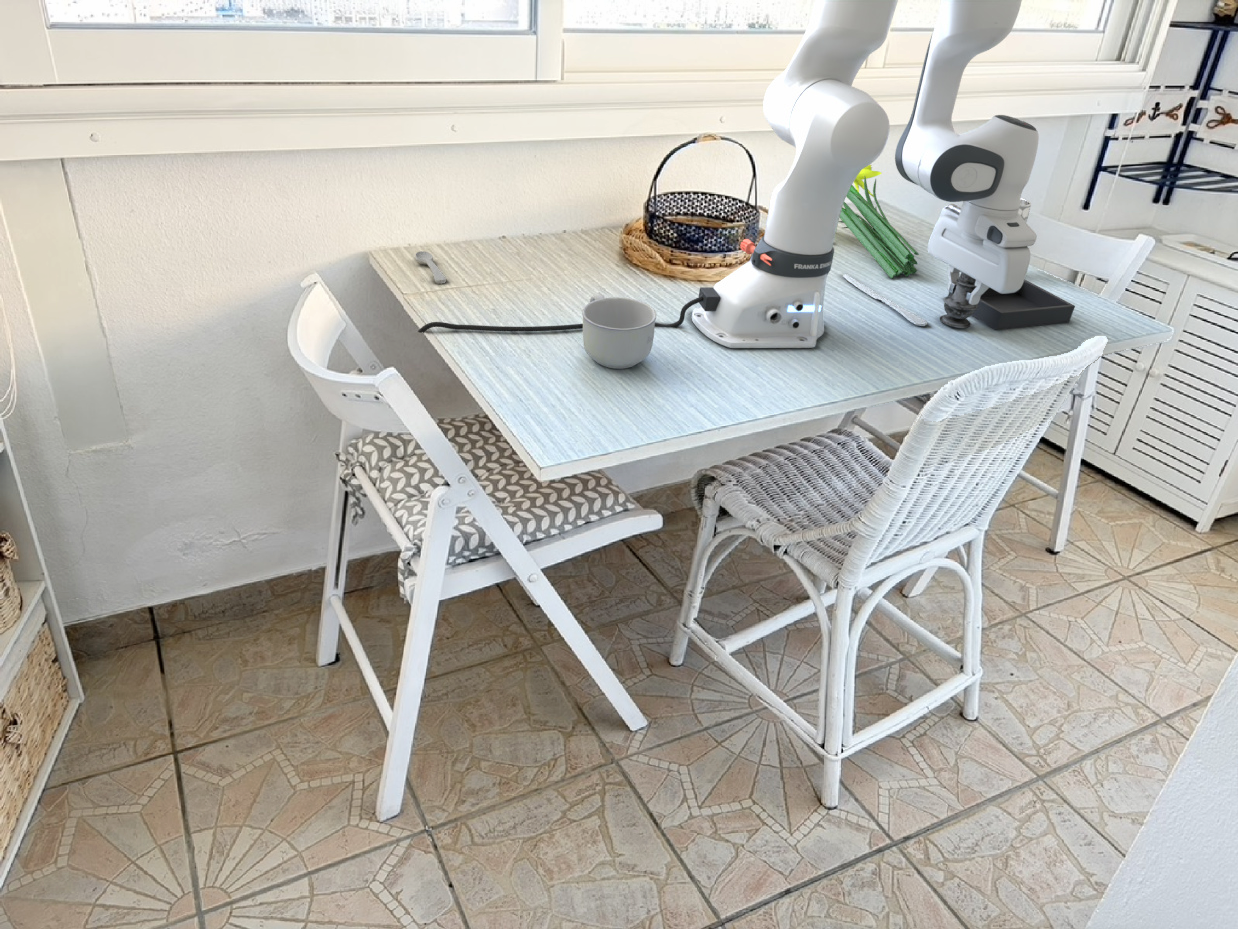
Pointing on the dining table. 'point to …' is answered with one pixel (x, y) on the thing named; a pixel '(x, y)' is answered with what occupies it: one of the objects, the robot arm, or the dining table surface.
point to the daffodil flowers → (877, 229)
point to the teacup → (618, 331)
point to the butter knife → (887, 302)
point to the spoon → (428, 259)
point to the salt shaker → (959, 303)
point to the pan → (1022, 308)
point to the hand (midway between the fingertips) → (962, 297)
